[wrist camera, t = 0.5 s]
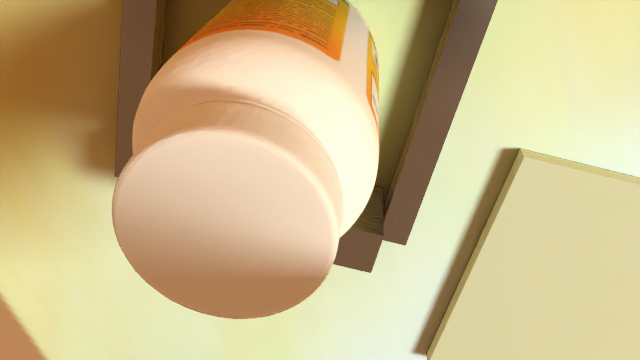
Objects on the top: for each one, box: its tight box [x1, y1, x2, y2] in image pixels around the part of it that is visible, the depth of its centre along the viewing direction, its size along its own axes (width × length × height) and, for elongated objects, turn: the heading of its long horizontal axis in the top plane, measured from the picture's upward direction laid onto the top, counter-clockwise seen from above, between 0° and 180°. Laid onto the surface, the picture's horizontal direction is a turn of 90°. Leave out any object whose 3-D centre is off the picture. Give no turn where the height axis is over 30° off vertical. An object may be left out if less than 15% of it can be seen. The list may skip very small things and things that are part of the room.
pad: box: [427, 149, 640, 360], centre depth 21 cm, size 10×10×1 cm
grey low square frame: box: [115, 0, 498, 273], centre depth 17 cm, size 10×10×3 cm
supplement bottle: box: [112, 0, 379, 319], centre depth 14 cm, size 5×5×10 cm
